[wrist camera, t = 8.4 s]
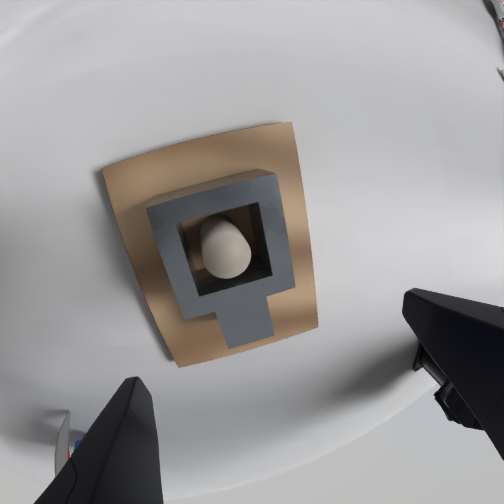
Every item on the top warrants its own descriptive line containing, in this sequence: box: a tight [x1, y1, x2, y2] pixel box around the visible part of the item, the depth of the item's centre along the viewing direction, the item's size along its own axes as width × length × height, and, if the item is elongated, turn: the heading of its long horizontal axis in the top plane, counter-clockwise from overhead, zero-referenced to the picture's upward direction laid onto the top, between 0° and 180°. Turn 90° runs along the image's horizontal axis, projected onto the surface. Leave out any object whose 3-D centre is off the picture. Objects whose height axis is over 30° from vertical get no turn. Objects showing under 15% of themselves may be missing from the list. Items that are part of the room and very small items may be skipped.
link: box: [146, 169, 296, 349], centre depth 16 cm, size 10×7×4 cm
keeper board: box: [102, 122, 318, 368], centre depth 17 cm, size 16×12×5 cm
